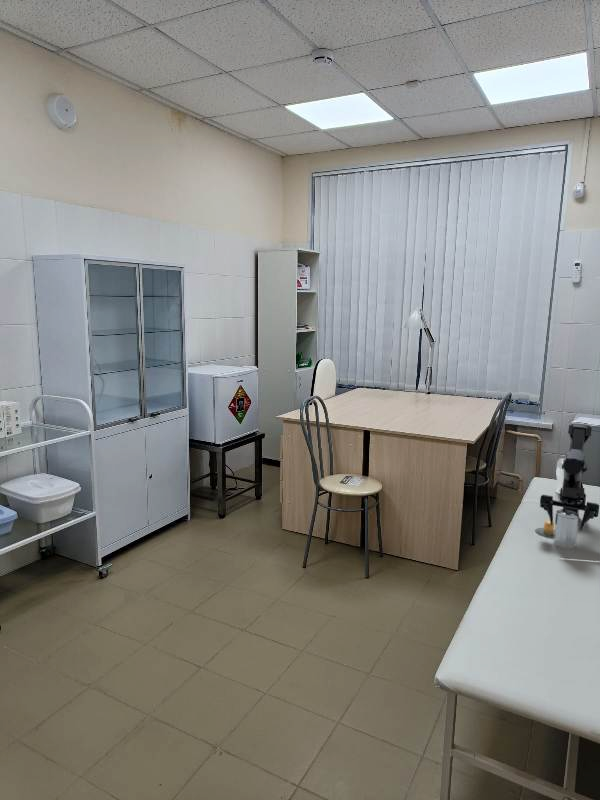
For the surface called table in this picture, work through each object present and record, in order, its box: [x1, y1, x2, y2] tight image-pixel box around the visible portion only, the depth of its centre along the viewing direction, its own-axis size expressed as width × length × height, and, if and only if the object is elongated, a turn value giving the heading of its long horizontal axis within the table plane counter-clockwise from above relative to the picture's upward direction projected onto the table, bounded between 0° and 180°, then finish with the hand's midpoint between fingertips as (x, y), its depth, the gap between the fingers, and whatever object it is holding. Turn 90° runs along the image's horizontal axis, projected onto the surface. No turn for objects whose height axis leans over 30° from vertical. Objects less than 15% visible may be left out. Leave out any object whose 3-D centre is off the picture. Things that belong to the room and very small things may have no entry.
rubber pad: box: [534, 527, 555, 539], centre depth 204 cm, size 9×9×1 cm
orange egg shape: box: [543, 520, 555, 535], centre depth 203 cm, size 3×3×4 cm
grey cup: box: [552, 508, 580, 550], centre depth 193 cm, size 7×7×12 cm
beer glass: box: [554, 457, 566, 495], centre depth 246 cm, size 7×7×15 cm
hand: (566, 527), depth 192 cm, fingers open, 9 cm apart
